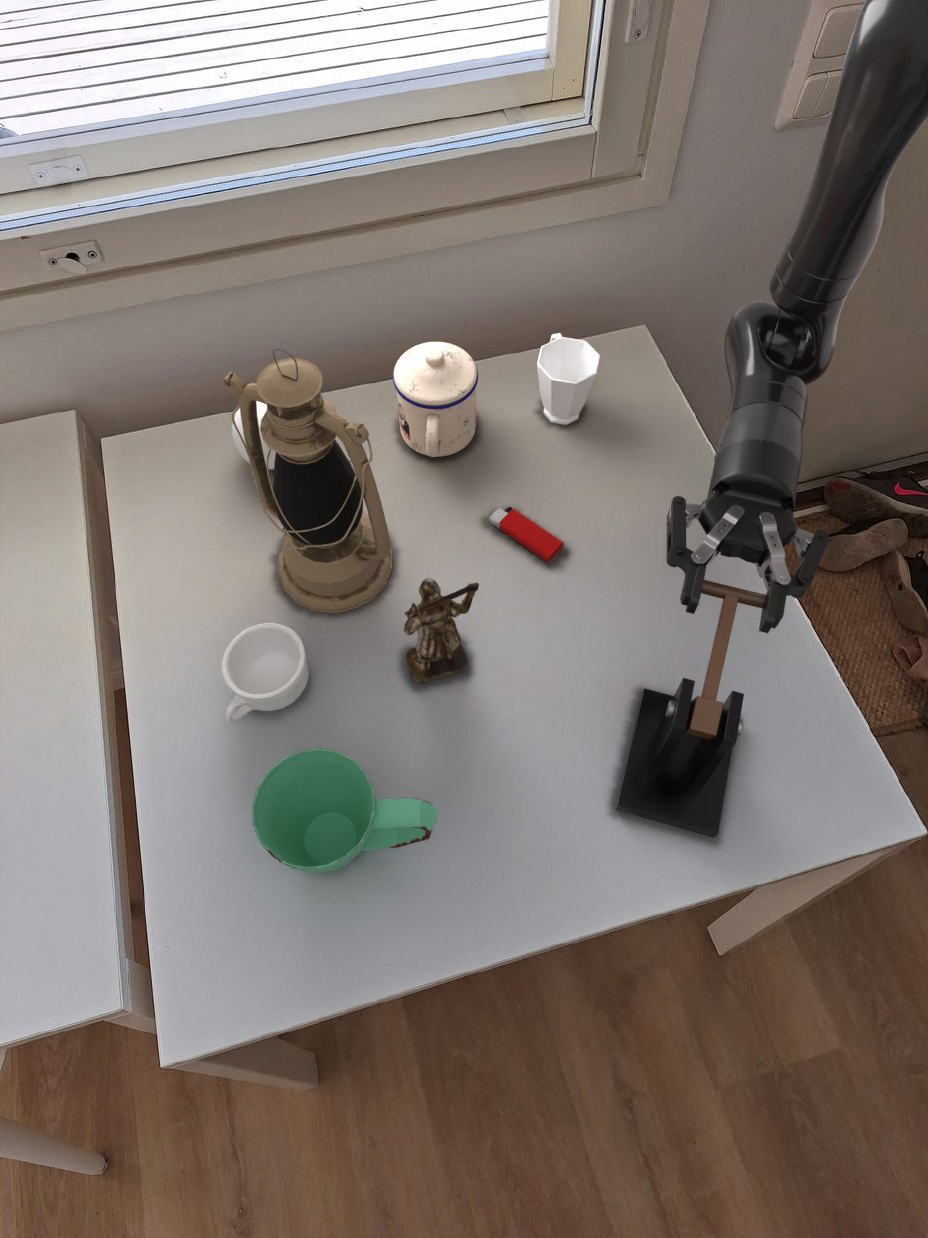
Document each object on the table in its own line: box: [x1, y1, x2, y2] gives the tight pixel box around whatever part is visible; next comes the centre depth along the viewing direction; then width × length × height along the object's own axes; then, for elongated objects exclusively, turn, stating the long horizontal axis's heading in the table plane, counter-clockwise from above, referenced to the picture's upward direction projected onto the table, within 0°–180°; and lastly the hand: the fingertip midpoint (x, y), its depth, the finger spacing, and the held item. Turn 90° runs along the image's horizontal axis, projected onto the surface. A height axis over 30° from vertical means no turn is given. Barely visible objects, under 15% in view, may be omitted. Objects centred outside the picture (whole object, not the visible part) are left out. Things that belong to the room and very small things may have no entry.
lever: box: [685, 579, 766, 739], centre depth 74 cm, size 13×6×2 cm, turn 163°
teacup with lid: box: [392, 341, 479, 458], centre depth 96 cm, size 12×9×12 cm
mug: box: [251, 747, 438, 874], centre depth 74 cm, size 15×10×10 cm
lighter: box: [488, 506, 565, 563], centre depth 94 cm, size 3×1×8 cm
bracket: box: [615, 677, 745, 839], centre depth 76 cm, size 12×9×13 cm
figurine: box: [403, 577, 480, 685], centre depth 81 cm, size 7×4×15 cm, turn 107°
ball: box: [231, 401, 276, 471], centre depth 96 cm, size 8×8×8 cm
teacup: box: [221, 622, 310, 724], centre depth 83 cm, size 10×8×5 cm
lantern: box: [222, 348, 393, 614], centre depth 80 cm, size 14×12×30 cm
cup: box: [536, 332, 601, 426], centre depth 100 cm, size 7×10×8 cm
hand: (729, 617), depth 73 cm, fingers closed on lever, 5 cm apart
